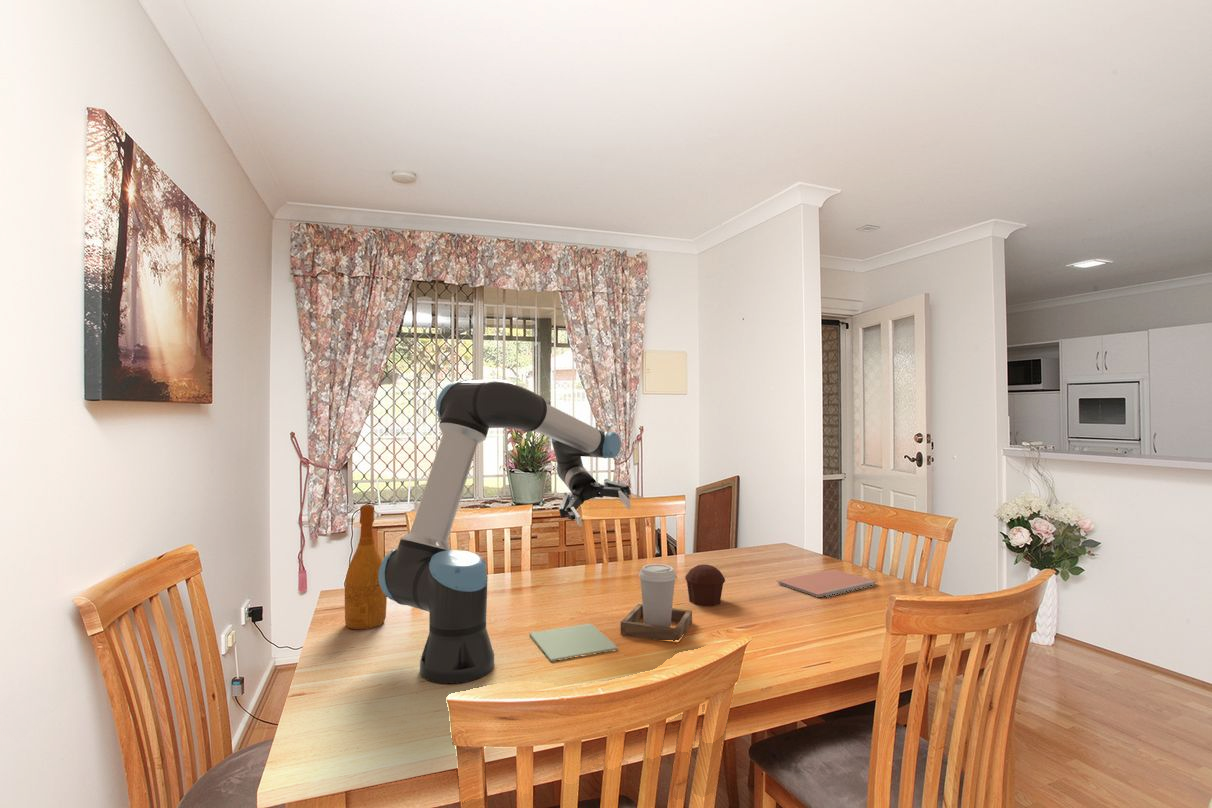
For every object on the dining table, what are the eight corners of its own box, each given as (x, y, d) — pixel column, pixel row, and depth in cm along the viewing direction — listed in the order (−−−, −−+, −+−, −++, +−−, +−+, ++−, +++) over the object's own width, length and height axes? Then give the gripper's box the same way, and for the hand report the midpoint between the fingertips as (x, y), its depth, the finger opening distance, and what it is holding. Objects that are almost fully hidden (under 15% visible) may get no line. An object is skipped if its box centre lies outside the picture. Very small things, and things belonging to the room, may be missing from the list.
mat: (617, 650, 131) (617, 647, 131) (550, 662, 125) (550, 659, 125) (590, 625, 146) (590, 623, 146) (529, 635, 139) (529, 632, 139)
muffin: (694, 592, 173) (694, 559, 173) (730, 599, 168) (730, 564, 168) (678, 603, 163) (678, 568, 163) (716, 610, 157) (716, 574, 158)
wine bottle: (393, 617, 150) (394, 502, 150) (374, 632, 140) (376, 508, 141) (357, 616, 151) (358, 501, 151) (336, 630, 141) (337, 507, 142)
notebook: (821, 601, 168) (821, 594, 168) (776, 586, 182) (776, 579, 182) (879, 587, 181) (879, 581, 181) (833, 574, 196) (833, 568, 196)
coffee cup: (645, 637, 139) (645, 574, 139) (633, 623, 148) (633, 564, 148) (682, 633, 141) (682, 572, 141) (668, 619, 150) (668, 562, 151)
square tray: (678, 643, 135) (678, 630, 135) (620, 634, 140) (620, 622, 140) (691, 622, 149) (692, 610, 149) (638, 614, 154) (638, 603, 154)
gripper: (622, 481, 173) (651, 509, 153) (543, 508, 166) (562, 541, 147) (617, 459, 171) (646, 484, 151) (537, 485, 164) (555, 516, 145)
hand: (604, 512), depth 149 cm, fingers open, 13 cm apart
